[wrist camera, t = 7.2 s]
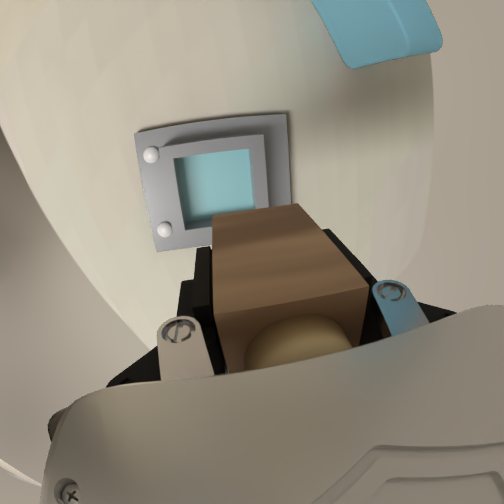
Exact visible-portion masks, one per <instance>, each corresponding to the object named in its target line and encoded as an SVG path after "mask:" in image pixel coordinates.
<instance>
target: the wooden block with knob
mask: <svg viewBox="0 0 504 504" xmlns="http://www.w3.org/2000/svg"><path fill="white" fill-rule="evenodd" d="M212 264H213V309H214V318H215V322H216V326H217V330H218V334H219V338H220V342H221V346H222V350H223V354H224V357H225V361H226V365H227V369H228V372H229V373H234V372H240V371H247V370H253V369H259V368H264V367H270V366H275V365H280V364H286V363H291V362H296V361H300V360H305V359H309V358H314V357H318V356H322V355H327V354H331V353H335V352H339V351H343V350H346V349H350V348H354V347H357V346H359V342H360V337H361V332H362V327H363V322H364V316H365V311H366V305H367V298H368V292H369V285H368V284H367V282H366V281H365V280H364V279H363V278H362V276H361V275H360V274H359V273H358V271H357V270H356V269H355V268H354V267H353V265H352V264H351V263H350V262H349V261H348V260H347V258H346V257H345V256H344V255H343V254H342V252H341V251H340V250H339V249H338V248H337V247H336V245H335V244H334V243H333V242H332V241H331V240H330V239H329V237H328V236H327V235H326V234H325V233H324V232H323V231H322V230H321V228H320V227H319V226H318V225H317V224H316V223H315V222H314V221H313V220H312V218H311V217H310V216H309V215H308V214H307V213H306V212H305V211H304V210H303V209H302V207H301V206H300V205H299V204H290V205H282V206H274V207H267V208H259V209H252V210H245V211H238V212H231V213H225V214H218V215H212Z"/></svg>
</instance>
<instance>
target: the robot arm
mask: <svg viewBox="0 0 504 504" xmlns="http://www.w3.org/2000/svg"><path fill="white" fill-rule="evenodd" d="M322 231H323V232H324V233H325V234H326V235H327V236H328V237H329V239H330V240H331V241H332V242H333V243H334V244H335V245H336V247H337V248H338V249H339V250H340V251H341V252H342V254H343V255H344V256H345V257H346V258H347V260H348V261H349V262H350V263H351V264H352V265H353V267H354V268H355V269H356V270H357V271H358V273H359V274H360V275H361V276H362V278H363V279H364V280H365V281H366V282H367V284H368V285H369V292H368V298H367V305H366V311H365V316H364V322H363V327H362V332H361V337H360V342H359V346H357V347H354V348H350V349H346V350H343V351H339V352H335V353H331V354H327V355H322V356H318V357H314V358H309V359H305V360H300V361H296V362H291V363H286V364H280V365H275V366H270V367H264V368H259V369H253V370H247V371H240V372H234V373H228V369H227V365H226V361H225V357H224V354H223V350H222V346H221V342H220V338H219V334H218V330H217V326H216V322H215V318H214V309H213V264H212V249H211V248H210V246H208V247H201V248H197V251H196V261H195V272H194V279H193V280H186V281H182V283H181V289H180V296H179V303H178V310H177V317H174V318H171V319H169V320H167V321H166V322H164V323H163V324H162V325H161V326H160V327H159V329H158V331H157V345H158V346H156V347H155V348H154V349H152V350H151V351H150V352H148V353H147V354H146V355H144V356H143V357H142V358H140V359H139V360H138V361H136V362H135V363H133V364H132V365H131V366H129V367H128V368H127V369H125V370H124V371H123V372H121V373H120V374H119V375H117V376H116V377H115V378H113V379H112V380H111V381H110V382H109V383H108V385H107V386H106V388H103V389H101V390H98V391H95V392H92V393H89V394H87V395H85V396H82V397H81V398H79V399H77V400H75V401H74V402H73V403H72V404H71V405H69V406H68V407H66V408H64V409H62V410H60V411H58V412H56V413H55V414H53V416H52V417H51V418H50V420H49V423H48V433H49V437H50V440H51V445H50V449H49V453H48V457H47V461H46V466H45V470H44V475H43V482H42V488H41V496H40V504H504V306H503V305H485V306H479V307H475V308H471V309H468V310H465V311H463V312H459V313H456V312H453V311H450V310H446V309H442V308H438V307H435V306H431V305H427V304H423V303H420V302H417V301H416V300H415V298H414V296H413V295H412V293H411V292H410V290H409V289H408V288H407V286H406V285H404V284H402V283H400V282H398V281H394V280H383V281H379V282H378V281H377V280H376V279H375V278H374V277H373V276H372V275H371V273H370V272H369V271H368V270H367V269H366V268H365V267H364V265H363V264H362V263H361V262H360V261H359V260H358V259H357V258H356V257H355V256H354V255H353V254H352V253H351V252H350V251H349V249H348V248H347V247H346V246H345V245H344V244H343V243H342V242H341V241H340V240H339V239H338V238H337V237H336V235H335V234H334V233H333V232H332V231H331V230H330V229H322Z"/></svg>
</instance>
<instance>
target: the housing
mask: <svg viewBox="0 0 504 504" xmlns="http://www.w3.org/2000/svg"><path fill="white" fill-rule="evenodd" d="M134 138H135V145H136V151H137V158H138V164H139V170H140V175H141V181H142V186H143V192H144V197H145V202H146V207H147V212H148V216H149V221H150V225H151V230H152V234H153V239H154V243H155V247H156V251H157V252H161V251H169V250H176V249H183V248H191V247H198V246H206V245H212V215H218V214H225V213H231V212H238V211H245V210H252V209H259V208H267V207H274V206H282V205H290V204H291V193H290V171H289V152H288V136H287V121H286V114H277V115H259V116H246V117H235V118H225V119H217V120H208V121H201V122H194V123H187V124H181V125H175V126H169V127H164V128H159V129H154V130H149V131H144V132H139V133H135V134H134Z"/></svg>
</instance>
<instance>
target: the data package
mask: <svg viewBox="0 0 504 504" xmlns="http://www.w3.org/2000/svg"><path fill="white" fill-rule="evenodd" d="M311 1H312V3H313V4H314V6H315V8H316V9H317V11H318V13H319V15H320V17H321V18H322V20H323V22H324V24H325V26H326V28H327V29H328V31H329V33H330V35H331V37H332V39H333V41H334V43H335V45H336V47H337V49H338V51H339V53H340V56H341V58H342V60H343V61H344V63H345V64H346V65H347V66H348V67H350V68H352V69H356V68H360V67H363V66H367V65H371V64H375V63H380V62H384V61H388V60H393V59H398V58H403V57H408V56H413V55H419V54H425V53H432V52H436V51H438V50H439V49H440V48H441V46H442V35H441V32H440V29H439V27H438V25H437V23H436V21H435V18H434V16H433V14H432V12H431V10H430V8H429V6H428V4H427V2H426V0H311Z"/></svg>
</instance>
